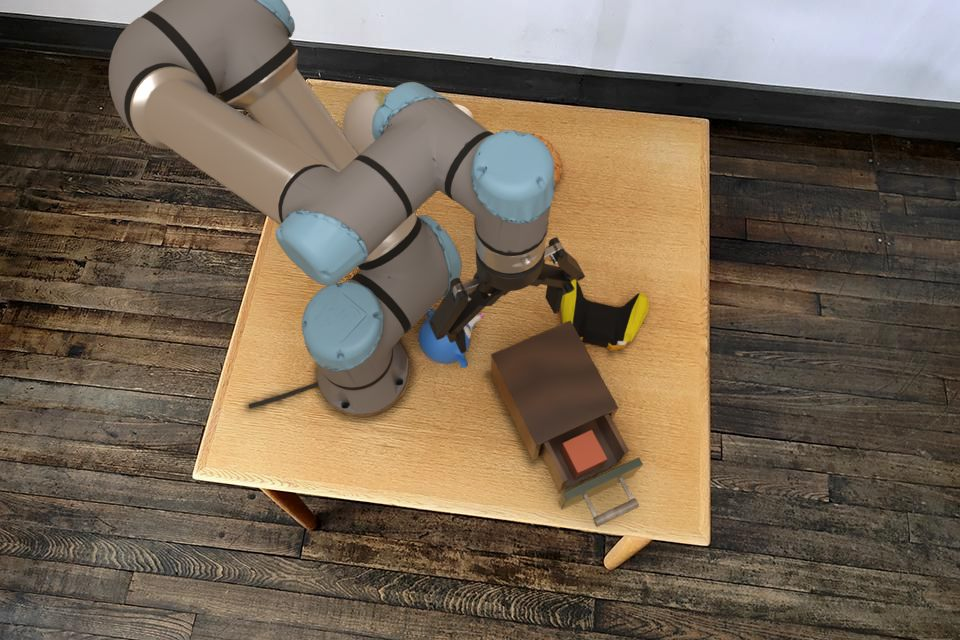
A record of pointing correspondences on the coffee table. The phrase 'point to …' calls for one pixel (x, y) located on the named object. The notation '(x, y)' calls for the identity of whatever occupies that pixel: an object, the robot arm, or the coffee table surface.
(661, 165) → the coffee table surface
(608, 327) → the gaming controller
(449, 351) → the blue mole toy
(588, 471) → the block
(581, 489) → the drawer
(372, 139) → the decorative egg
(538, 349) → the cabinet
